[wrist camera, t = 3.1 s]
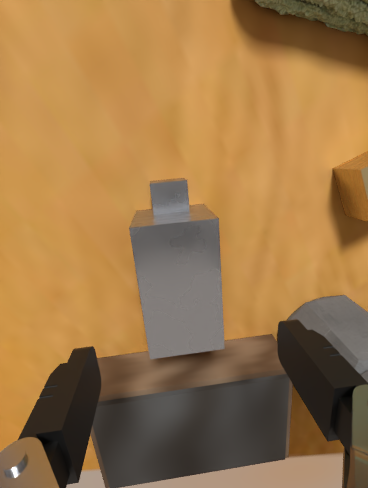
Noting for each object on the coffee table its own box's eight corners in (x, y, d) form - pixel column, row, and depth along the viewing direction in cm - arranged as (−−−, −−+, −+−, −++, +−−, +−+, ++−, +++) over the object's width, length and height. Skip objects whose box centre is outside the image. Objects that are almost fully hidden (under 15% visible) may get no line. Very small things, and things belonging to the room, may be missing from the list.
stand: (271, 334, 24) (296, 371, 19) (269, 415, 27) (290, 462, 23) (93, 358, 23) (79, 403, 18) (113, 440, 26) (104, 493, 22)
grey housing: (201, 176, 19) (216, 181, 14) (211, 328, 23) (225, 372, 18) (132, 182, 18) (123, 191, 14) (154, 335, 23) (153, 383, 18)
